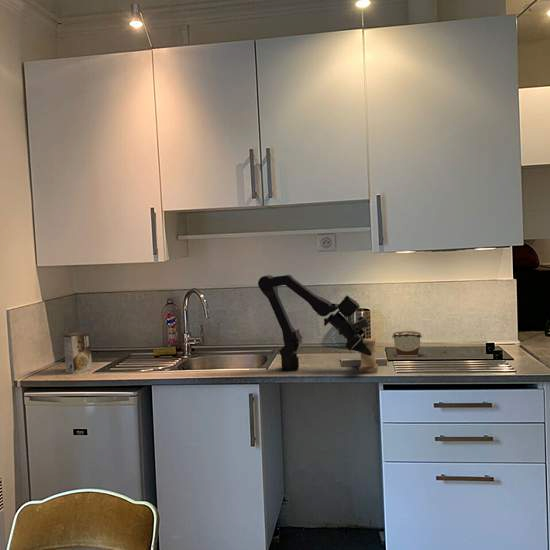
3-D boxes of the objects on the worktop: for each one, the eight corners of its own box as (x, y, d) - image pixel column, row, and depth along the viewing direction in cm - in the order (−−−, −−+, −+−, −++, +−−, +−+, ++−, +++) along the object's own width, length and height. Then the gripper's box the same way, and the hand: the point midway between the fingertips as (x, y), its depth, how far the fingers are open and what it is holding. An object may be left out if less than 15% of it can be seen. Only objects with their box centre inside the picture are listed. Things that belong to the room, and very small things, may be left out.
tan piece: (359, 372, 234) (358, 341, 233) (361, 368, 241) (360, 338, 240) (376, 372, 232) (375, 341, 231) (377, 368, 239) (376, 338, 238)
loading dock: (342, 366, 245) (341, 360, 244) (340, 359, 257) (340, 353, 257) (387, 365, 243) (386, 358, 243) (383, 358, 256) (383, 352, 256)
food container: (422, 353, 262) (422, 330, 262) (422, 356, 256) (421, 333, 256) (393, 353, 266) (393, 330, 265) (392, 356, 260) (392, 333, 259)
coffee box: (84, 368, 264) (81, 331, 263) (92, 369, 260) (90, 332, 259) (65, 372, 257) (62, 334, 256) (73, 374, 253) (71, 335, 252)
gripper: (353, 314, 227) (384, 343, 225) (359, 307, 245) (388, 334, 243) (333, 335, 229) (363, 364, 227) (340, 327, 247) (368, 354, 245)
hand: (371, 353), depth 236 cm, fingers closed on tan piece, 5 cm apart
